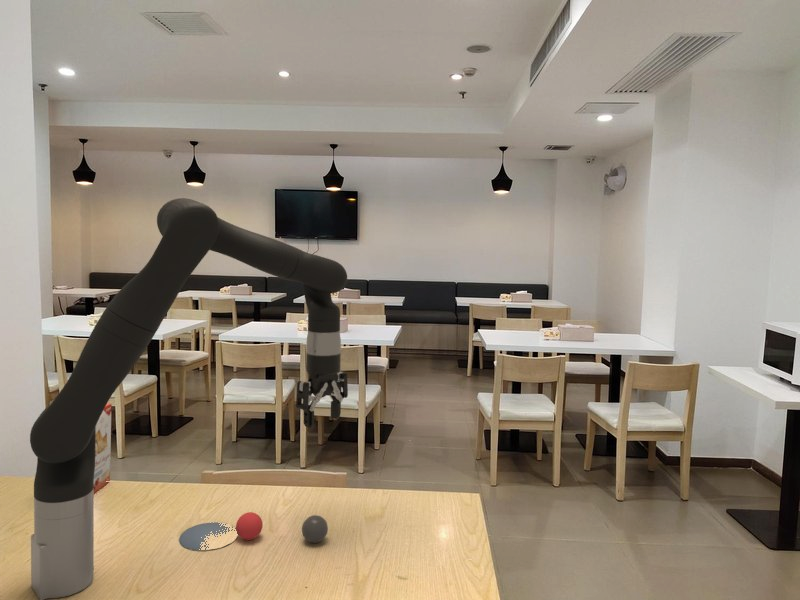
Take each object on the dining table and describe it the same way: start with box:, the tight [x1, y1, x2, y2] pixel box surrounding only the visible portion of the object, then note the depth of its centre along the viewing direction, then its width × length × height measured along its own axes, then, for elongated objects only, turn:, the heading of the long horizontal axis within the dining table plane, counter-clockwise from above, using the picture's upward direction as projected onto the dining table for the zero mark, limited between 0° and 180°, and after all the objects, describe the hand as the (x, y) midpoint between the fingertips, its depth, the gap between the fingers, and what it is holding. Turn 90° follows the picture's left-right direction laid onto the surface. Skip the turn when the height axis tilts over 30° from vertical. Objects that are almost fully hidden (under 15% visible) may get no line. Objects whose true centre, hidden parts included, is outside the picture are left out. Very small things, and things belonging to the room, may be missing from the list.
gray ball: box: [301, 514, 329, 543], centre depth 124 cm, size 6×6×6 cm
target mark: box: [178, 521, 236, 551], centre depth 125 cm, size 12×12×1 cm
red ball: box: [235, 511, 264, 541], centre depth 124 cm, size 6×6×6 cm
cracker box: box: [94, 402, 113, 494], centre depth 142 cm, size 14×6×21 cm, turn 179°
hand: (322, 422), depth 130 cm, fingers open, 8 cm apart
